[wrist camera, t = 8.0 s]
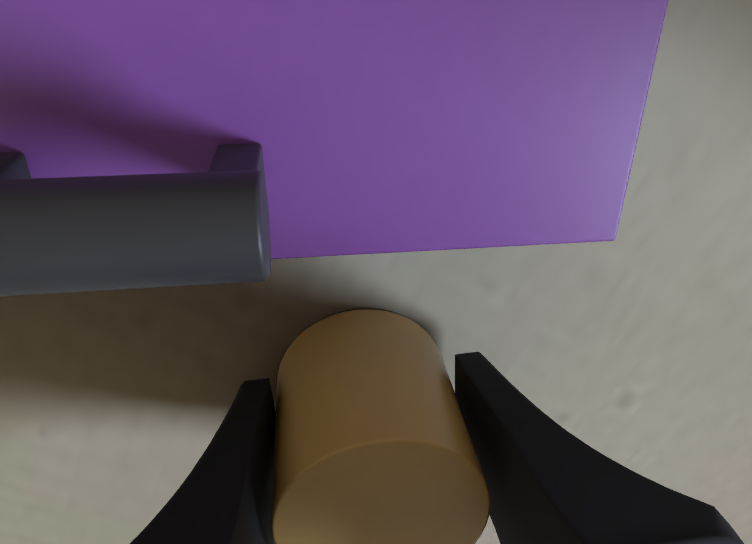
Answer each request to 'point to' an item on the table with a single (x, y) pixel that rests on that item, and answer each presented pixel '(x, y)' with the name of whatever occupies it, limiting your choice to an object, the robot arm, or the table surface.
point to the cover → (307, 132)
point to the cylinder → (372, 439)
